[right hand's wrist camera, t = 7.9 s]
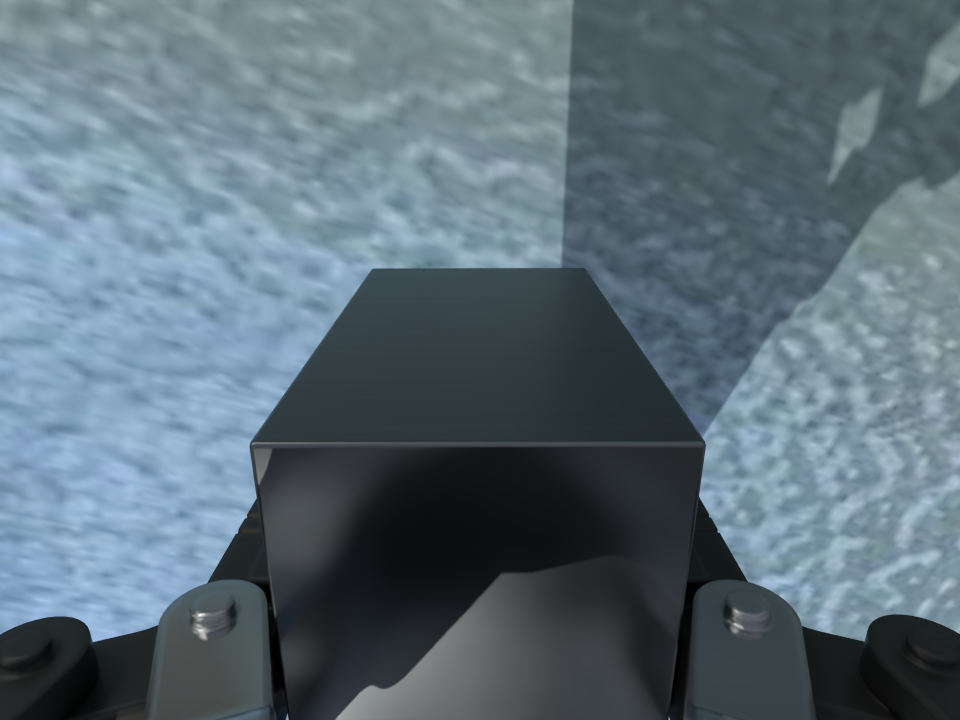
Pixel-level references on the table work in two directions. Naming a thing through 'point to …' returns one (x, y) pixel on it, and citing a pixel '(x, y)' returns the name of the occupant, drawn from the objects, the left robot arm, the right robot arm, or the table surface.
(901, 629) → the right robot arm
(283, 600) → the bar
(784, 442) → the table surface
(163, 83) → the table surface
